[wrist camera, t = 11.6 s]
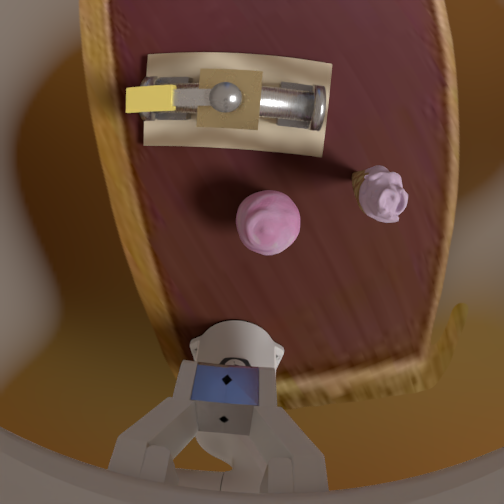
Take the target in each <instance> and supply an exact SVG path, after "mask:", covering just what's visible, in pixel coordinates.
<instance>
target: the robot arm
mask: <svg viewBox="0 0 504 504" xmlns="http://www.w3.org/2000/svg"><path fill="white" fill-rule="evenodd" d="M190 349H191V352H192V355H193V358H194V361H189V360H183V361H182V363H181V366H180V370H179V374H178V378H177V382H176V386H175V390H174V394H173V398H171V397H168V398H166V399H165V400H164V401H163V402H161V403H160V404H159V405H158V406H156V407H155V408H154V409H153V410H151V411H150V412H149V413H148V414H146V415H145V416H144V417H143V418H141V419H140V420H139V421H137V422H136V423H135V424H134V425H132V426H131V427H130V428H128V429H127V430H126V431H124V432H123V433H122V434H120V435H119V436H118V439H117V442H116V445H115V448H114V451H113V454H112V457H111V460H110V464H109V467H108V470H106V469H103V468H99V467H96V466H93V465H90V464H87V463H84V462H81V461H78V460H75V459H72V458H69V457H67V456H64V455H61V454H59V453H56V452H54V451H51V450H49V449H46V448H44V447H41V446H39V445H37V444H35V443H32V442H30V441H28V440H26V439H24V438H22V437H19V436H17V435H15V434H13V433H11V432H9V431H7V430H5V429H4V428H2V427H0V504H504V447H502V448H500V449H497V450H495V451H493V452H490V453H488V454H485V455H483V456H480V457H477V458H475V459H472V460H469V461H466V462H463V463H461V464H458V465H454V466H452V467H448V468H445V469H442V470H439V471H435V472H431V473H427V474H424V475H420V476H416V477H412V478H408V479H403V480H399V481H394V482H389V483H383V484H378V485H372V486H365V487H359V488H351V489H343V490H333V491H329V490H328V483H327V474H326V467H325V459H324V455H323V454H322V453H321V451H320V450H319V449H318V448H317V447H316V446H315V445H314V444H313V443H312V442H311V441H310V439H308V437H307V436H306V435H305V434H304V433H303V431H302V430H301V429H300V428H299V427H298V426H297V424H296V423H295V422H294V421H293V420H292V419H291V418H290V416H289V415H288V414H287V413H286V412H285V411H284V409H283V408H282V407H277V395H276V368H277V366H278V364H279V362H280V360H281V358H282V356H283V354H284V348H283V347H282V346H281V345H279V344H277V343H275V342H274V341H273V340H272V339H271V337H270V336H269V335H268V333H267V332H266V331H265V330H263V329H262V328H260V327H259V326H257V325H255V324H252V323H249V322H245V321H237V320H232V321H224V322H221V323H218V324H215V325H213V326H212V327H210V328H209V329H208V330H207V331H206V332H205V333H204V334H203V335H201V336H199V337H197V338H194V339H192V340H191V341H190ZM194 436H196V439H197V442H198V443H199V444H200V446H201V447H202V448H203V449H204V450H205V451H207V452H208V453H209V454H211V455H213V456H214V457H216V458H218V459H221V460H223V461H225V462H226V463H228V464H229V465H231V467H232V468H233V469H232V470H231V471H227V472H213V471H199V470H188V469H175V466H174V463H173V459H174V458H175V457H176V456H177V455H178V454H179V453H180V452H181V450H182V449H183V448H184V447H185V446H186V445H187V444H188V443H189V442H190V441H191V440H192V439H193V438H194Z"/></svg>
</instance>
